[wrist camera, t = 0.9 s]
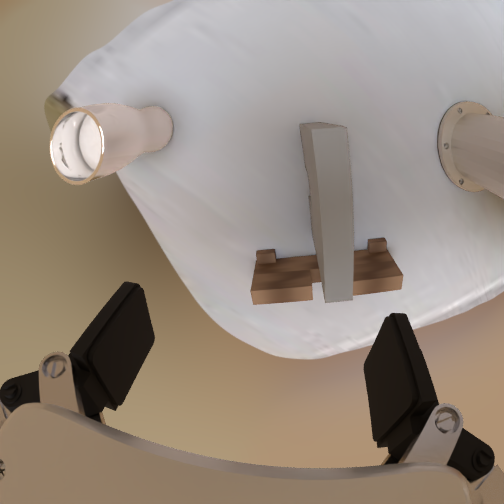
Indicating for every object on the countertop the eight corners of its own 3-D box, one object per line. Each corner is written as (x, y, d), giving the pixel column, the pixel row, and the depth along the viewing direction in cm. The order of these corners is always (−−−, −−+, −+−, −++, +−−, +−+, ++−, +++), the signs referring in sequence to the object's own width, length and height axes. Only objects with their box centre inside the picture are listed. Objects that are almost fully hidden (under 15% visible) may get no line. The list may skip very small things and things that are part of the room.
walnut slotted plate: (386, 237, 34) (404, 264, 28) (384, 269, 36) (399, 299, 30) (254, 251, 37) (248, 280, 31) (260, 282, 39) (255, 314, 33)
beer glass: (177, 100, 29) (105, 97, 15) (177, 154, 32) (109, 186, 19) (128, 105, 29) (45, 113, 16) (129, 156, 32) (52, 189, 19)
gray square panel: (319, 122, 28) (346, 127, 16) (330, 232, 35) (352, 300, 22) (299, 124, 29) (311, 129, 16) (312, 234, 35) (325, 303, 23)
